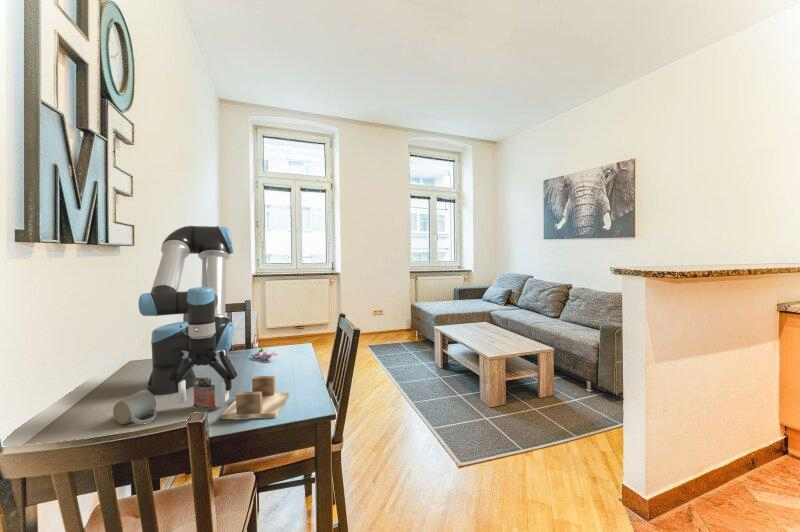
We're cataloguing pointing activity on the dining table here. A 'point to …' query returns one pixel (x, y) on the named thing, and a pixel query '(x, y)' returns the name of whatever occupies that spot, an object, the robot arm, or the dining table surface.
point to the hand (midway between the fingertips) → (204, 401)
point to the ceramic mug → (135, 408)
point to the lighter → (204, 394)
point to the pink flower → (265, 355)
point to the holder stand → (257, 401)
